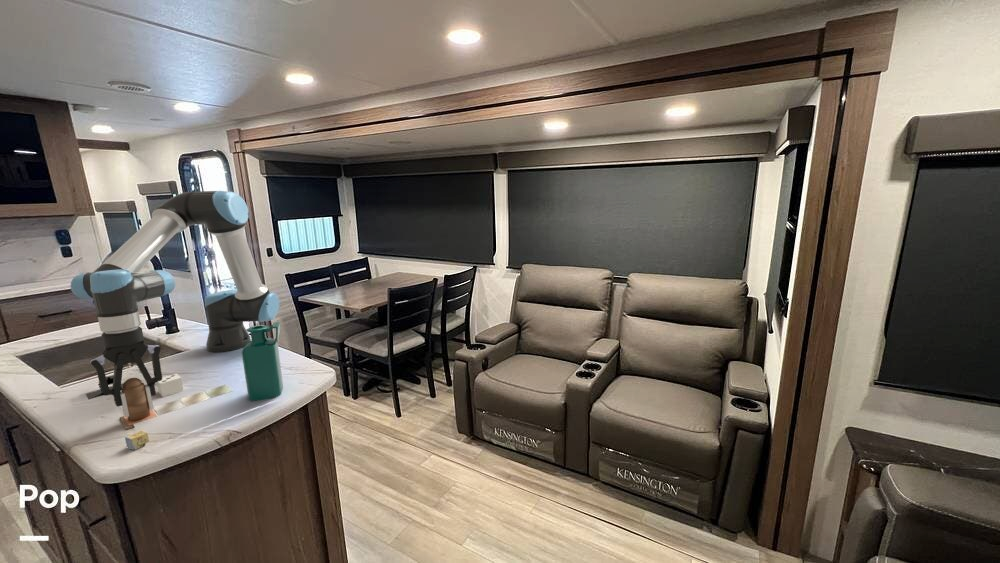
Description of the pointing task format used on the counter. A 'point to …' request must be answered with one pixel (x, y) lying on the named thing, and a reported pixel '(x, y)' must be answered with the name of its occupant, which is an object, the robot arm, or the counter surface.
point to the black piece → (99, 392)
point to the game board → (179, 404)
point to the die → (170, 385)
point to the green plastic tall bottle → (262, 364)
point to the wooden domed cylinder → (136, 399)
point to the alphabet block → (136, 440)
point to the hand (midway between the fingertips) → (138, 411)
